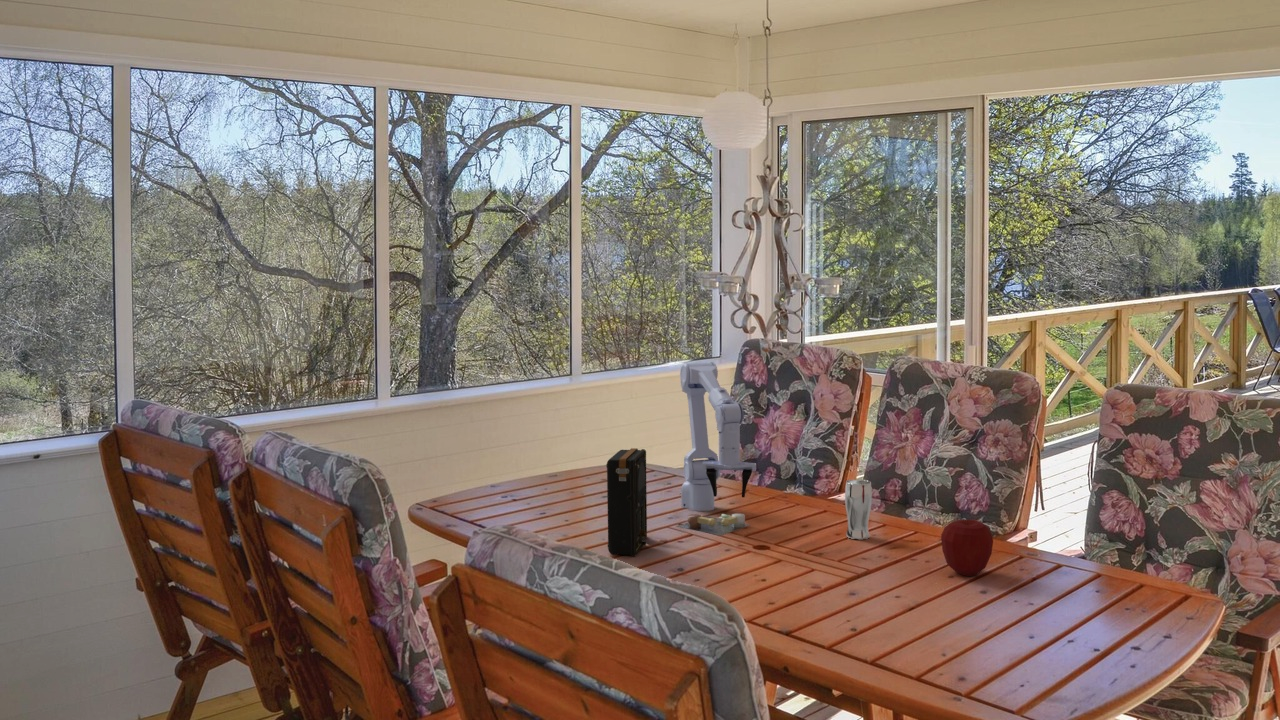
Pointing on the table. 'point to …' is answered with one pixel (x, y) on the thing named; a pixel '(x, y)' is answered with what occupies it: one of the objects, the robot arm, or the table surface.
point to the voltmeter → (627, 501)
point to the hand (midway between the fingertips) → (729, 496)
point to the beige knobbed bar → (699, 521)
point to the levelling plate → (713, 528)
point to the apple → (967, 546)
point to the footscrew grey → (734, 521)
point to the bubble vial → (723, 517)
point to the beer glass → (858, 508)
